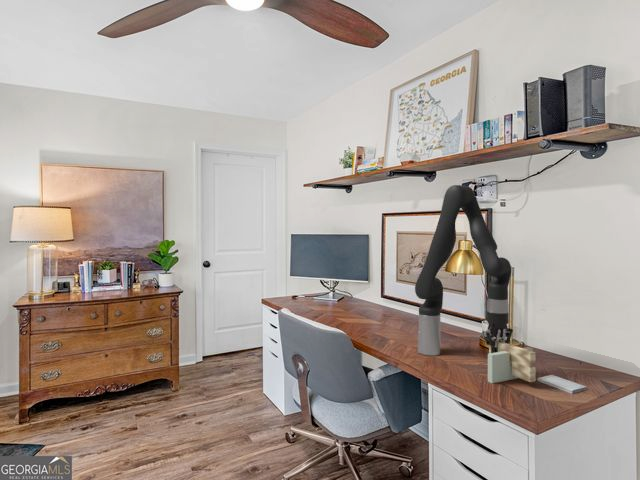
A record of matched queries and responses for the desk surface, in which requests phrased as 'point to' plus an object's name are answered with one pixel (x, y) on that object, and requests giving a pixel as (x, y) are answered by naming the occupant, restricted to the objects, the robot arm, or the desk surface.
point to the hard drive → (562, 384)
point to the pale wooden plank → (520, 361)
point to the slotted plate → (500, 366)
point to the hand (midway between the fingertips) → (497, 355)
